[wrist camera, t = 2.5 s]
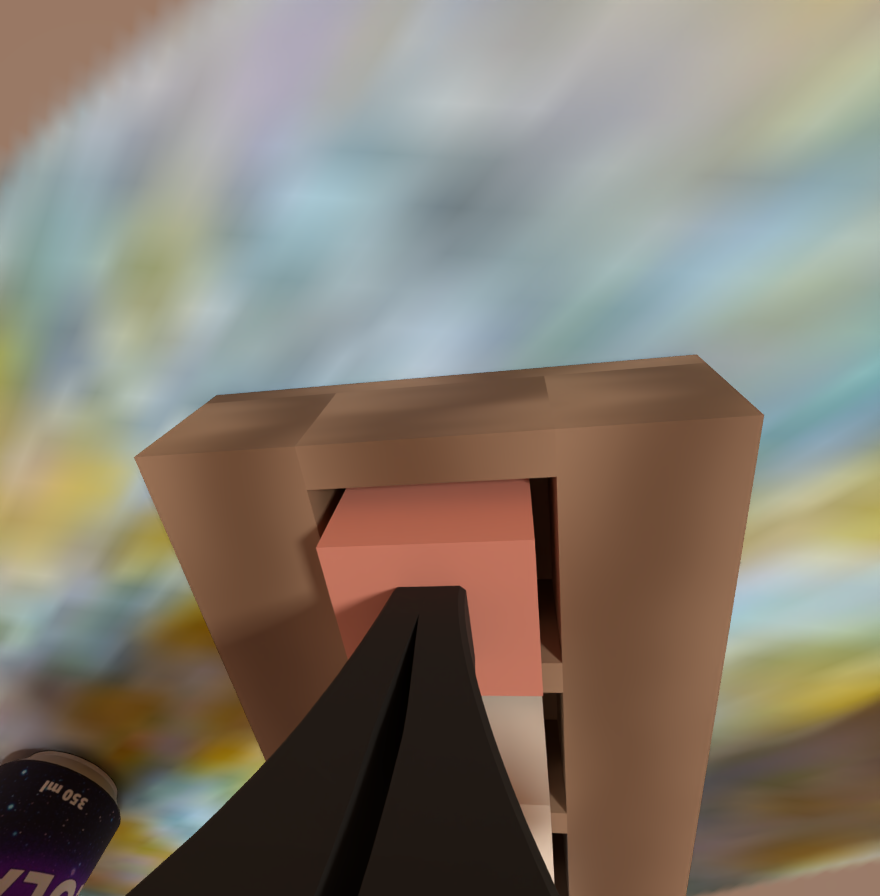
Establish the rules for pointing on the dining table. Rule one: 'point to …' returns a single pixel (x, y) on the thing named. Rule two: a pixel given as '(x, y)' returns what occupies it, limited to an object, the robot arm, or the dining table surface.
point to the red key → (443, 567)
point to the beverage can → (53, 823)
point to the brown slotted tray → (557, 565)
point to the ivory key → (525, 761)
